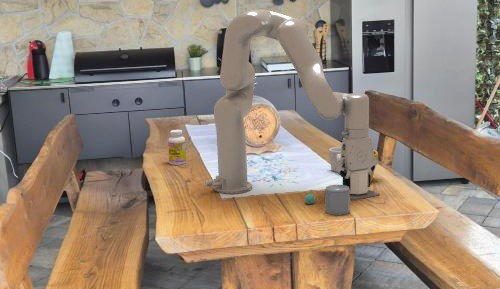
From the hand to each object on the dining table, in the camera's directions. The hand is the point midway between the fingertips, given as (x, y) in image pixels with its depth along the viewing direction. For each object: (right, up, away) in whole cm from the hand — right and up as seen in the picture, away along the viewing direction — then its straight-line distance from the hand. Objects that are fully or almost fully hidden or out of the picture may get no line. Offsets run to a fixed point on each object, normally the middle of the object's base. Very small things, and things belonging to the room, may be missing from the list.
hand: (356, 187), depth 230 cm
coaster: (0, -2, 0) cm, 2 cm away
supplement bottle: (-62, +6, +50) cm, 80 cm away
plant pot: (+4, +1, +17) cm, 17 cm away
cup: (-2, +4, +29) cm, 29 cm away
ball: (-16, -4, -8) cm, 18 cm away
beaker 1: (-8, -6, -16) cm, 19 cm away
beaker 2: (0, -1, 0) cm, 1 cm away
